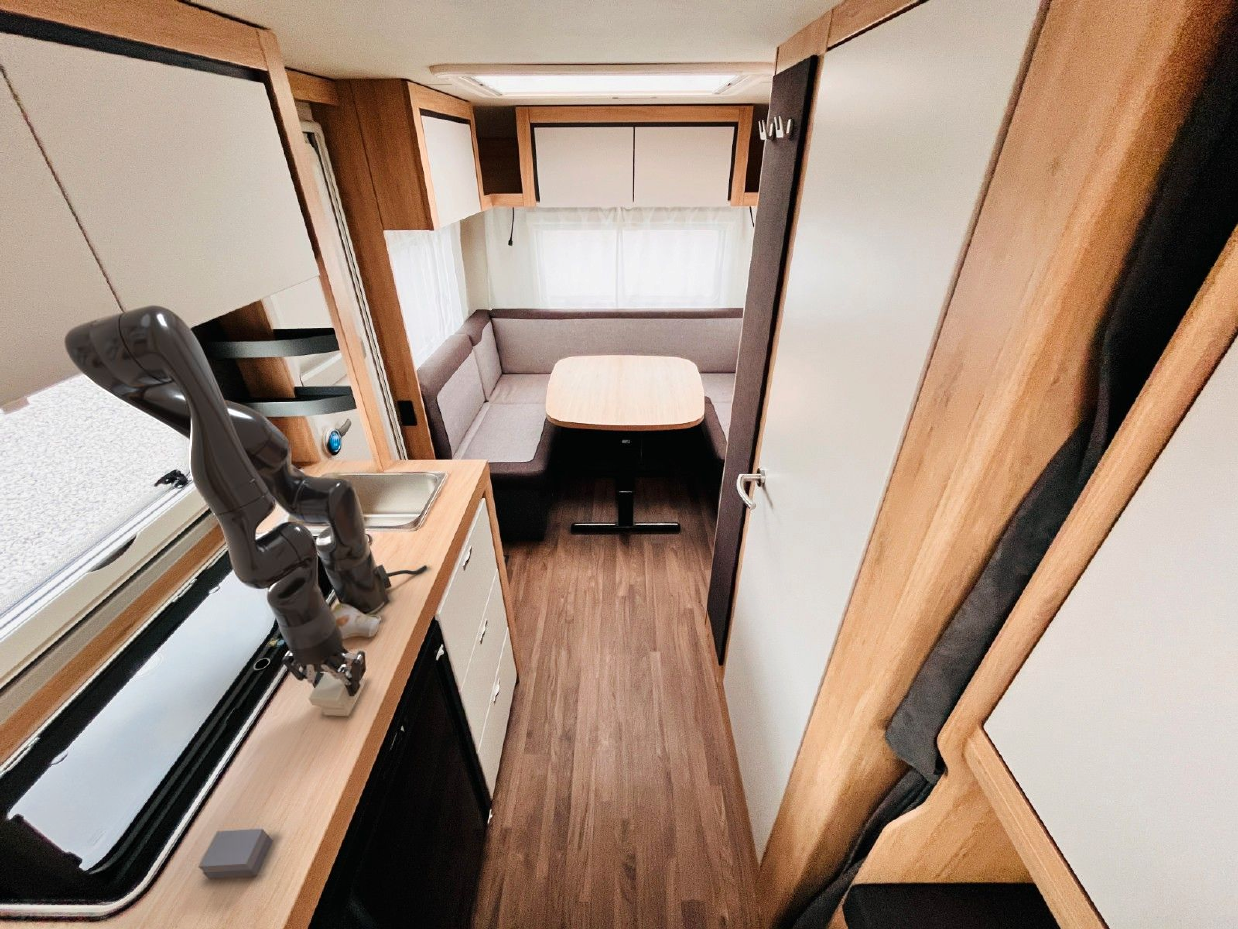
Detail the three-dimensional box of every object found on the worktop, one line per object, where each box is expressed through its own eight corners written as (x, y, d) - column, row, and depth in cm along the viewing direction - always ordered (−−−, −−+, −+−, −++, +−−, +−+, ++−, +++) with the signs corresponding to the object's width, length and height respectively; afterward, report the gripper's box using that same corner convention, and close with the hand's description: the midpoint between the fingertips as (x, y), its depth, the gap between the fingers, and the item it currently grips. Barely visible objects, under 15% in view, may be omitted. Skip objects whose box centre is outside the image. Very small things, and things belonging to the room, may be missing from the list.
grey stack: (208, 879, 72) (196, 867, 69) (227, 843, 75) (216, 830, 73) (256, 876, 72) (245, 864, 70) (273, 840, 76) (262, 828, 73)
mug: (378, 647, 105) (339, 626, 99) (347, 652, 109) (307, 633, 103) (392, 613, 110) (355, 591, 104) (362, 620, 114) (325, 599, 108)
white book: (340, 707, 89) (337, 700, 88) (312, 705, 90) (308, 698, 88) (361, 669, 96) (358, 662, 95) (334, 667, 96) (331, 661, 95)
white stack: (343, 682, 98) (336, 669, 96) (365, 683, 98) (359, 670, 95) (325, 715, 92) (318, 702, 90) (348, 716, 92) (342, 703, 90)
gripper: (363, 613, 87) (386, 675, 96) (282, 609, 88) (313, 671, 97) (341, 649, 81) (368, 712, 90) (253, 645, 81) (289, 708, 90)
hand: (339, 691), depth 93 cm, fingers closed on white book, 5 cm apart
